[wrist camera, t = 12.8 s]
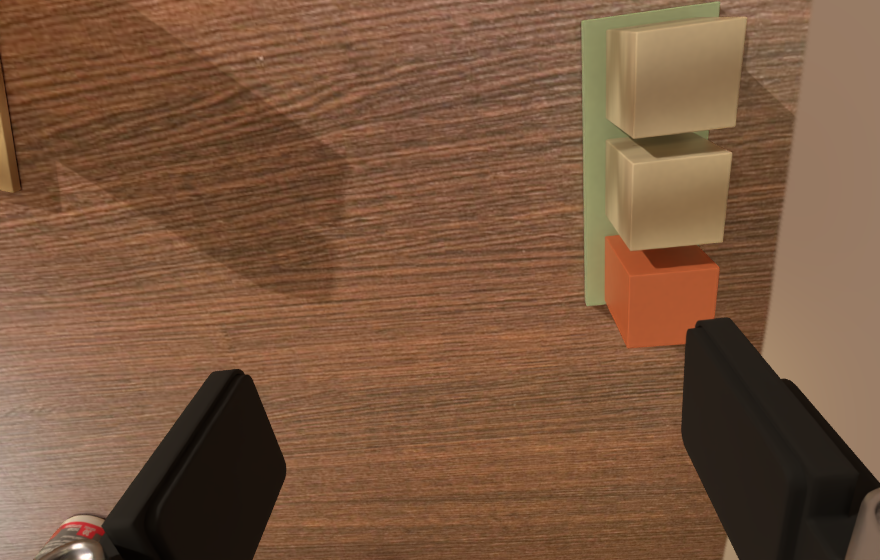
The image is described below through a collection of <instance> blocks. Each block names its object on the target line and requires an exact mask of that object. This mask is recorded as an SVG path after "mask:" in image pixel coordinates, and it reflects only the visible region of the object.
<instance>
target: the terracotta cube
mask: <svg viewBox="0 0 880 560" xmlns="http://www.w3.org/2000/svg"><path fill="white" fill-rule="evenodd" d="M719 272H720V268H719V267H718V266H717V265H716V264H715V263H714V262H713V261H712V260H711V259H710V258H709V257H708V255H707V254H706V253H705V252H704V251H703V250H702V249H701V248H700V247H699V246H698V245H690V246H679V247H669V248H659V249H648V250H638V251H630V250H629V248H628V247H627V245H626V244H625V243H624V241H623V240H622V238H621V237H620V235H614V236H606V237H605V302H606V304H607V306H608V308H609V310H610V312H611V314H612V317H613V319H614V321H615V323H616V325H617V327H618V329H619V331H620V334H621V336H622V338H623V340H624V342H625V344H626V346H627V348H640V347H653V346H666V345H679V344H686V332H687V330H688V329H690V328H695V324H696V322H697V321H698V320H706V319H714V318H715V308H716V299H717V290H718V281H719Z"/></svg>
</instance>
